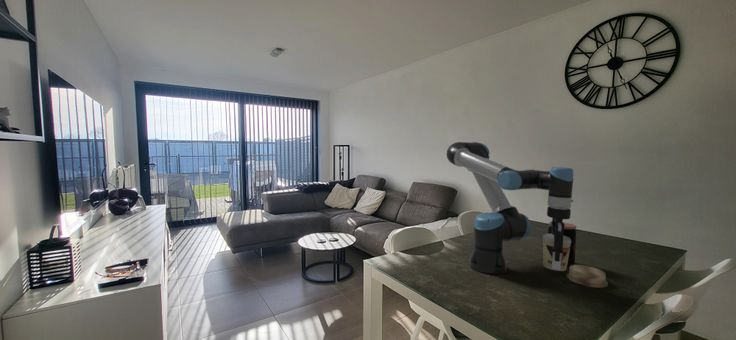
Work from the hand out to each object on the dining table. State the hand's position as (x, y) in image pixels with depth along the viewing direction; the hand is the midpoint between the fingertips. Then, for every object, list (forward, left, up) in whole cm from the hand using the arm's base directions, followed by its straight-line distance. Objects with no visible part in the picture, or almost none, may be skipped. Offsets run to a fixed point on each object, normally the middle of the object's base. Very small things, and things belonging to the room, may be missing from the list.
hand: (554, 264), depth 113 cm
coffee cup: (0, 0, -1) cm, 1 cm away
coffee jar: (+5, +25, -7) cm, 26 cm away
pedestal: (+12, +8, -7) cm, 15 cm away
